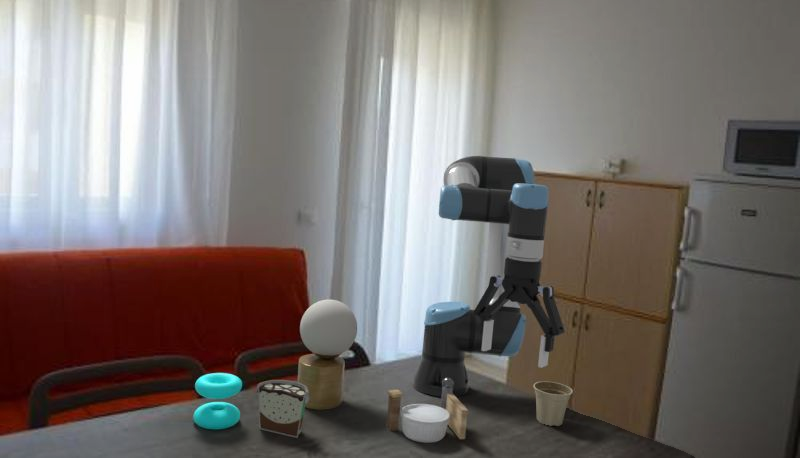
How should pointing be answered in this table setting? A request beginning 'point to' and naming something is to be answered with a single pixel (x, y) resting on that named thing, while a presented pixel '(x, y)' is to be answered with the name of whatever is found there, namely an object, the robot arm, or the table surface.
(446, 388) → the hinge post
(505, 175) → the robot arm
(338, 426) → the table surface
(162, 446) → the table surface
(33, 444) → the table surface
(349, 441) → the table surface
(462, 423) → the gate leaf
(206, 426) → the donuts
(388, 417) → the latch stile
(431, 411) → the ramekin
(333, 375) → the lamp
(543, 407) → the flower pot
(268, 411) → the food container
